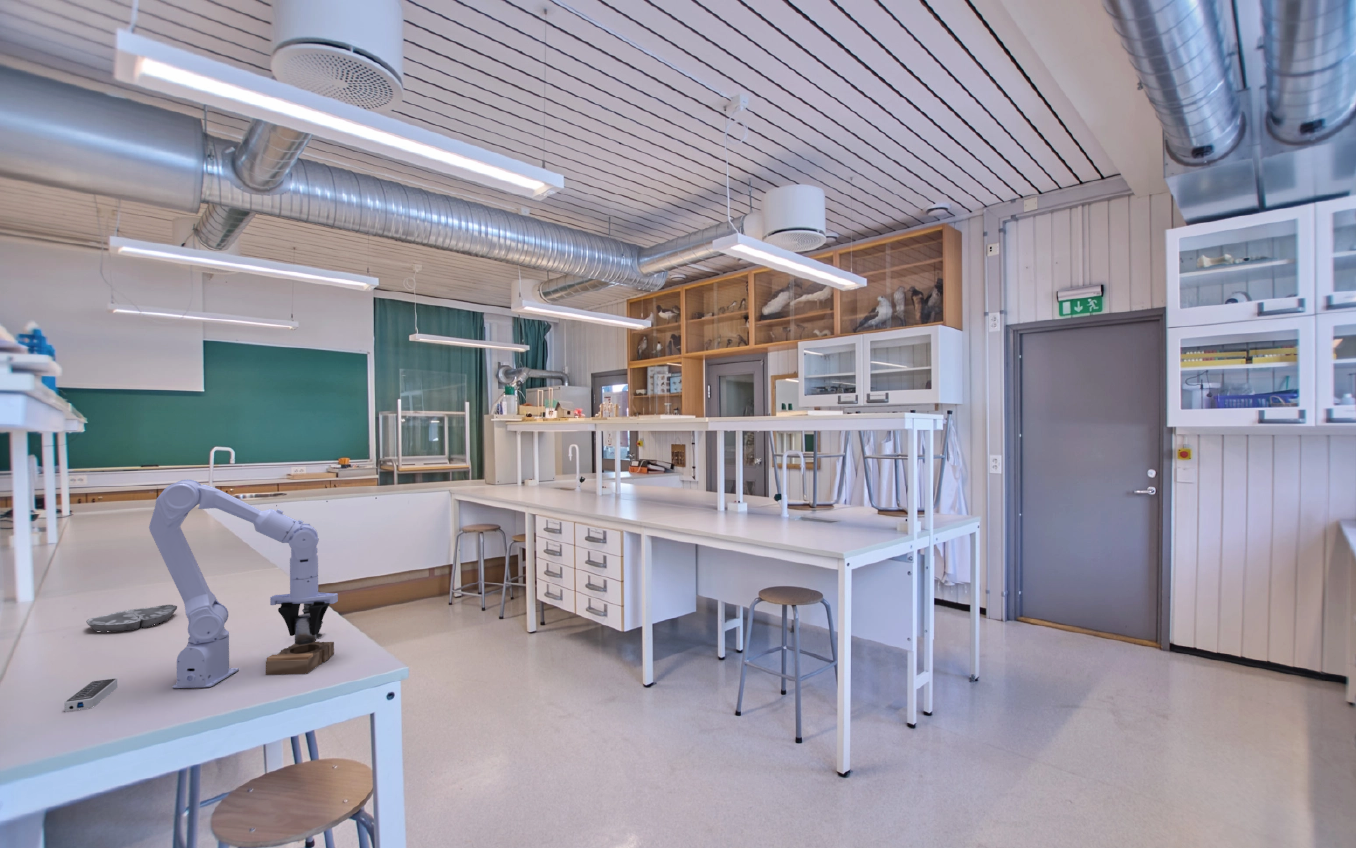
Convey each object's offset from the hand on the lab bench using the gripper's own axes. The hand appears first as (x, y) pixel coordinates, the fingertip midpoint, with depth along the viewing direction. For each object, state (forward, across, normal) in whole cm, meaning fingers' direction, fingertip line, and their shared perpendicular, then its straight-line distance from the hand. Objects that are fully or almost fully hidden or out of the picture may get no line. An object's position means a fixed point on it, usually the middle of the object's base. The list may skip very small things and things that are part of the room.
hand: (304, 634), depth 147 cm
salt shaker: (+7, +8, -18) cm, 20 cm away
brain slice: (+7, +64, -32) cm, 72 cm away
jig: (+6, 0, +2) cm, 7 cm away
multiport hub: (+7, +33, +18) cm, 38 cm away
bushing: (+2, 0, 0) cm, 2 cm away
